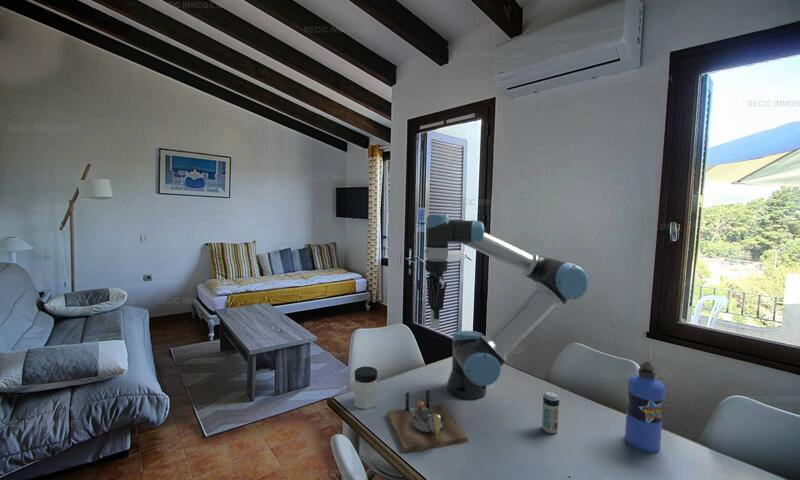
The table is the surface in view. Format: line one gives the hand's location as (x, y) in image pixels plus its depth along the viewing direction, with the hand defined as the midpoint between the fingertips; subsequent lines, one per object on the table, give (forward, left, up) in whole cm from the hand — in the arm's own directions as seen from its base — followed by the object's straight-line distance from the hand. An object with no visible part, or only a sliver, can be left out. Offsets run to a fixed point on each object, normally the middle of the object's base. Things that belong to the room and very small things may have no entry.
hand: (434, 327), depth 128 cm
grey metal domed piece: (+6, +11, -28) cm, 30 cm away
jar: (+22, -10, -30) cm, 38 cm away
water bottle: (-55, +34, -30) cm, 71 cm away
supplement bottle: (-32, +21, -30) cm, 48 cm away
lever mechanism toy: (+6, +10, -29) cm, 32 cm away
